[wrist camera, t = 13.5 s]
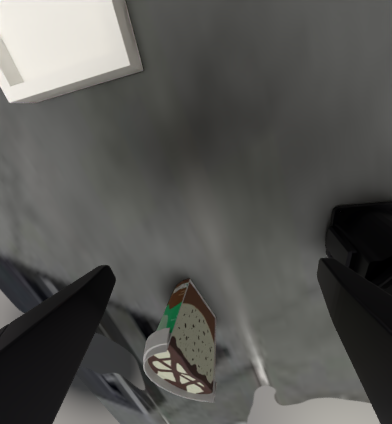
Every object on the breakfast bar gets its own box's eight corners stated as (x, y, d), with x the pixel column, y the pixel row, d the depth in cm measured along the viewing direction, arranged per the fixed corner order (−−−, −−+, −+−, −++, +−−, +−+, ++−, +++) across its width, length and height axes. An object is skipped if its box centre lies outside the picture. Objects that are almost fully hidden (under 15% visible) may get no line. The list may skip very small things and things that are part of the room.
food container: (150, 280, 29) (116, 353, 20) (184, 271, 27) (163, 348, 18) (188, 327, 34) (173, 403, 25) (220, 322, 31) (215, 404, 23)
